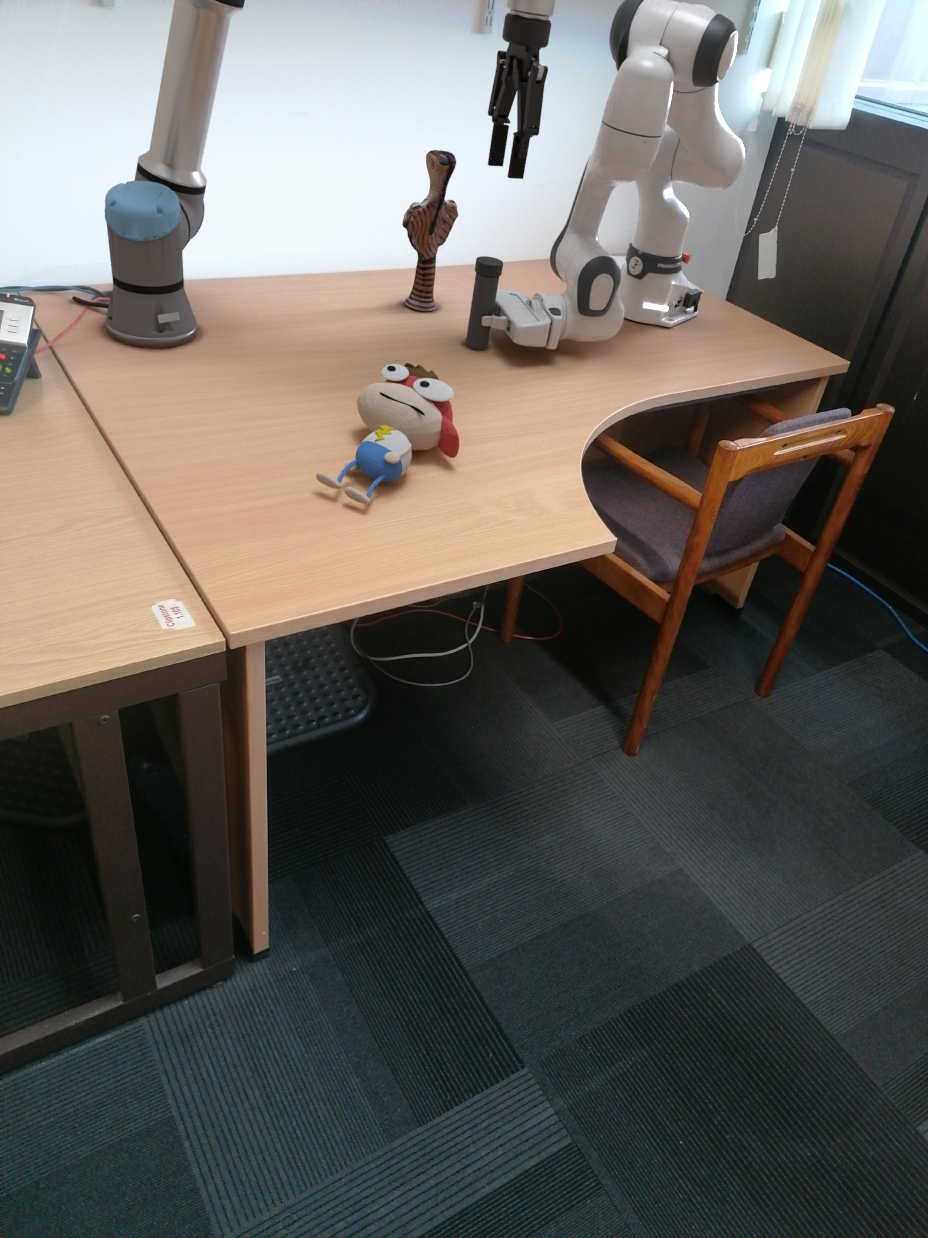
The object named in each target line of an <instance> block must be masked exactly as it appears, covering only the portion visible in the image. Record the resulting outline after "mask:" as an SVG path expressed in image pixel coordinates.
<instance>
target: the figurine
mask: <svg viewBox="0 0 928 1238" xmlns="http://www.w3.org/2000/svg"><path fill="white" fill-rule="evenodd" d="M456 165H457V159H456V156H455V154H454V153H452V152H451V151H448V150H442V149H432V150H429V151H428V152H427V153H426V155H425V166H426V170H427V173H428V178H429V190H428V194H427V196H426V197H425V198H424V199H423V200H422V201H421V202H419V201H414V202H412V203H410V205H409V207H408V209H406V211H405V212H404V214H403V217H402V224H401V225H402V227H403V228H404V229H405V230H406V233H407V238H408V241H409V243H410V246H411V247H412V248H413V249H414V251H415V252H416V253H417V261H416V265H415V266H416V267H415V275H414V279H413V285H412V287H411V291H410V293H409V295H408V297H406V299H405V300H404V301H403V302H404V304H405V305H406V306H407V307H408V308H411V309H413V310H416V311H420V312H421V311H422V312H431V311H434V310H437V308H438V305H437V303H436V301H435V299H434V288H435V280H436V267H437V254H438V251H439V247H441V246H443V245H444V244H445V243H446V241H447V239H448V238H449V235H450V233H451V231H452V229H453V227H454V224H455V221H456V220H457V218H458V217H459V211H458V205H457V203H456V201H455V200H454V199H447V200H446V194H447V189H448V185H449V182H450V180H451V178H452V176H453V174H454V172H455V169H456Z"/></svg>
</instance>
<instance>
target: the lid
mask: <svg viewBox="0 0 928 1238" xmlns="http://www.w3.org/2000/svg"><path fill="white" fill-rule="evenodd" d="M503 268H504V262H503V261H502V259H500V258H496V257H494V256H493V257H492V256H487V255H486V256H485V255H484V256H483V255H482V256H477V257H476V258H475V265H474V272H475V274H476V273H478V274H480V275H483V276H488V277H499V278H500V277H501V276H502V274H503Z"/></svg>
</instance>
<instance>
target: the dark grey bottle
mask: <svg viewBox="0 0 928 1238" xmlns="http://www.w3.org/2000/svg"><path fill="white" fill-rule="evenodd" d="M499 281H500V276H499V277H488V276H483V275H480V274H478V273H476V272H475V277H474V284H473V291H472V296H471V304H470V311H469V318H468V324H467V330H466V338H465V346H466V347H468V348H469V349H472V350H476V351H485V350H487V349H488V348H489V342H490V337H491V330H492V327H491V326H483V325H482V324H481V322H480V319H481V315H482V314H490V315H491V316H493V312H494V306H495V300H496V294H497V288H498V289H499V283H500V282H499Z"/></svg>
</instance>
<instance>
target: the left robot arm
mask: <svg viewBox="0 0 928 1238" xmlns="http://www.w3.org/2000/svg"><path fill="white" fill-rule="evenodd" d="M173 1H174V2H173V7H172V14H171V19H170V24H169V29H168V30H169V31H168V35H167V37H168V38H167V42H166V49H165V55H164V60H163V66H162V72H161V78H160V84H159V91H158V97H157V102H156V109H155V113H154V114H155V115H154V120H153V127H152V132H151V137H150V138H151V139H150V144H149V149H148V150H147V151H146V152H144V153H142V154H141V155H139V156H138V158H137V163H136V169H135V175H134V180H131V181H129V180H128V181H126V182H125V183H123V182H121V183H118V184H115V185H114V186H112V187H111V188H109V190H107V193H106V194H105V199H104V220H105V222H106V229H107V230H106V233H107V241H108V249H109V259H110V268H111V277H112V291H111V295H110V300H109V303H103V302H96V301H89V300H85V299H83V298H80V297H78V296H75V295H73V296H72V298H71V300H72V301H73V302H76V303H78V304H80V305H84V306H87V307H92V308H101V309H107V311H106V315H105V326H106V328H105V329H106V332H107V334H108V335H109V336H110V337H111V338H112V339H114V340H116V341H117V342H120V343H123V344H126V345H130V346H133V347H140V348H152V349H157V348H160V349H163V348H171V347H177V346H182V345H184V344H187V343H189V342H191V341H193V340H194V339H195V338H196V337H197V335H198V324H197V320H196V317H195V315H194V311H193V309H192V306H191V304H190V300H189V298H188V296H187V293H186V290H185V278H184V276H185V275H184V260H183V259H184V258H183V251H184V250H185V248H186V247H187V245H188V244H189V243H190V241H191V240H192V239H194V237H195V236H196V235H197V234H198V233H199V231H200V230H201V228H202V226H203V223H204V218H205V201H204V199H205V194H206V189H207V183H208V179H207V177H206V176H205V174H204V173H203V171H202V168H201V167H202V163H203V158H204V153H205V149H206V148H205V147H206V144H207V138H208V134H209V128H210V125H211V124H210V122H211V118H212V115H213V114H212V113H213V108H214V103H215V99H216V94H217V88H218V85H219V79H220V74H221V70H222V69H221V68H222V64H223V59H224V54H225V49H226V44H227V40H228V36H229V35H228V34H229V29H230V25H231V19H232V17H234V16H235V15H237V14H238V13H240V12H241V11H243V10H244V8H245V7H244V6H245V2H246V0H173ZM555 5H556V0H507V1H506V8H507V10H509V12H507V13H506V14H505V15H504V20H503V27H502V37H501V38H502V40H503V41H504V42H507V43H508V46H507V50H498V51H497V53H496V66H495V73H494V77H493V81H492V82H493V83H492V88H491V94H490V99H489V104H488V108H487V115H488V116H489V117H491V122H492V124H493V125H492V132H491V137H490V145H489V152H488V159H487V166H489V167H504V162H505V156H506V151H507V142H508V135H509V129H510V125H509V124H511V120H510V118H509V116H510V113H511V111H512V107H513V105H514V101H515V98H516V100H517V101H516V120H517V121H516V131H515V132H513V134H512V135H513V139H512V145H511V146H512V147H511V152H510V157H509V164H508V171H507V178H508V179H513V180H514V179H515V180H516V179H517V180H519V179H520V180H523V179H524V176H525V172H526V171H525V170H526V164H527V158H528V155H529V154H528V153H529V147H530V141H531V138H533V137H537V136H539V134H540V129H541V119H542V110H543V102H544V93H545V85H546V84H545V83H546V80H547V77H548V73H549V67H548V66H547V65H542V64H541V63H540V52H541V49H545V48H547V47H548V45H549V41H550V36H551V29H552V21H551V19H550V18H551V17H553V16H554V13H555Z"/></svg>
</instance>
